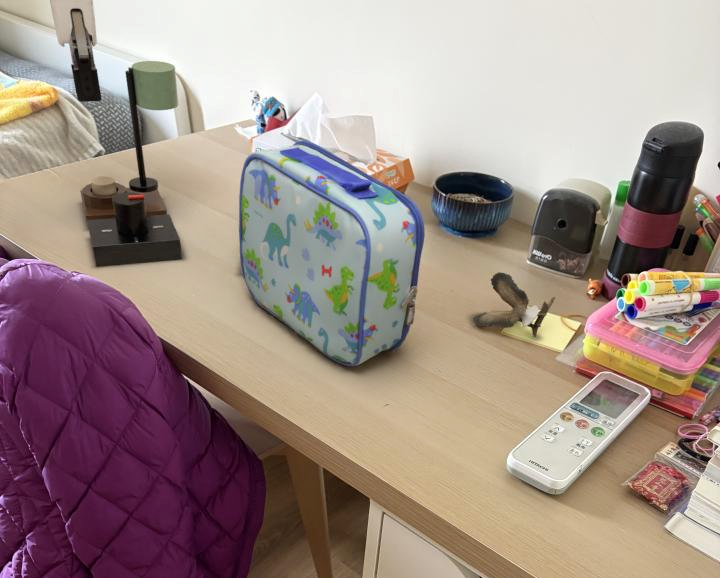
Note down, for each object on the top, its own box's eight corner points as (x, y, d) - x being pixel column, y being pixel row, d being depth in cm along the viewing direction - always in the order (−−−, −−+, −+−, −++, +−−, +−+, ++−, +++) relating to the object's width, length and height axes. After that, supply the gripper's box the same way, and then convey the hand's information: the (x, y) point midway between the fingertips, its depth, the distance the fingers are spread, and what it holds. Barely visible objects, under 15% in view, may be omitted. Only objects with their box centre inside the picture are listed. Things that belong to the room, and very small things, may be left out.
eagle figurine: (548, 311, 99) (489, 284, 100) (561, 286, 92) (498, 257, 93) (525, 356, 97) (465, 328, 99) (537, 334, 90) (473, 304, 92)
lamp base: (88, 229, 109) (83, 203, 107) (82, 203, 116) (78, 178, 113) (167, 223, 113) (165, 198, 110) (158, 199, 120) (155, 174, 117)
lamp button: (93, 197, 110) (91, 185, 108) (91, 188, 112) (89, 176, 111) (118, 195, 111) (116, 184, 110) (115, 186, 113) (113, 175, 112)
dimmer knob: (118, 236, 102) (113, 203, 98) (115, 224, 105) (110, 191, 101) (150, 234, 103) (146, 201, 100) (146, 221, 106) (141, 189, 103)
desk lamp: (132, 195, 110) (114, 72, 99) (127, 181, 114) (109, 61, 103) (188, 192, 113) (178, 71, 101) (182, 177, 117) (171, 60, 105)
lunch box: (420, 359, 90) (446, 191, 76) (355, 387, 84) (370, 212, 70) (297, 275, 104) (300, 121, 89) (234, 295, 98) (226, 133, 84)
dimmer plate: (96, 266, 101) (92, 245, 99) (90, 239, 107) (86, 218, 105) (181, 259, 105) (179, 238, 103) (171, 233, 111) (169, 213, 109)
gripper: (28, -72, 94) (57, 83, 107) (32, -54, 83) (65, 116, 96) (88, -69, 96) (110, 82, 109) (99, -51, 86) (123, 114, 98)
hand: (88, 97), depth 102 cm, fingers closed
